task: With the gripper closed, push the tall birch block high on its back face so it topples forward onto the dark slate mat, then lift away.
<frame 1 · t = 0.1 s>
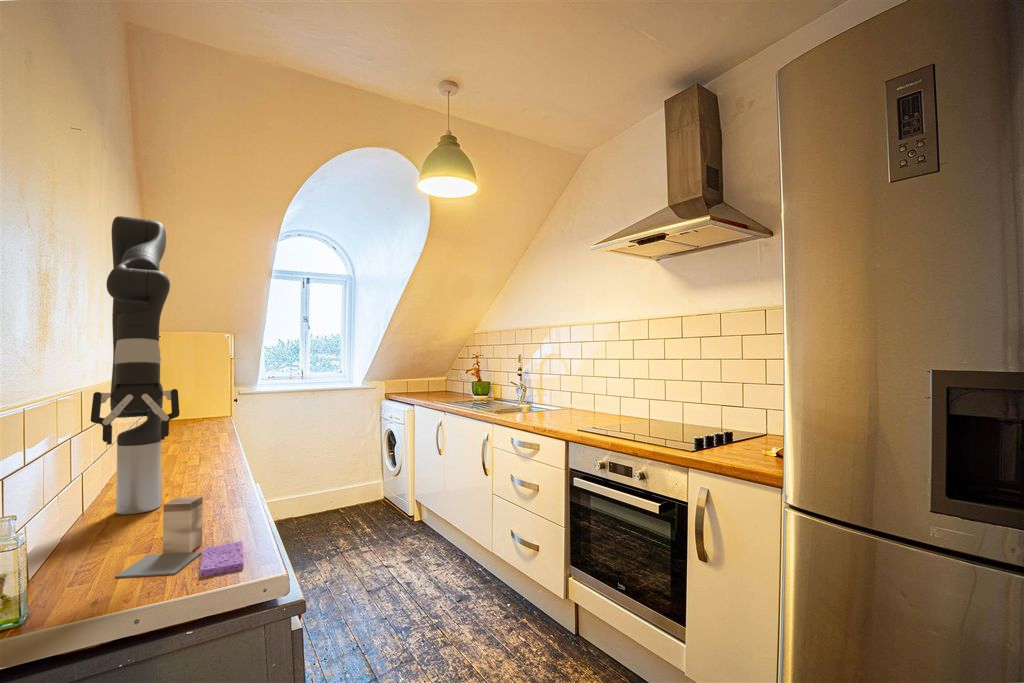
hand: (136, 442, 99), 22 cm above the table, tool pointing down, fingers open, 8 cm apart
sponges: (222, 564, 95), on the table
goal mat: (160, 565, 93), on the table
birch block: (183, 549, 101), on the table
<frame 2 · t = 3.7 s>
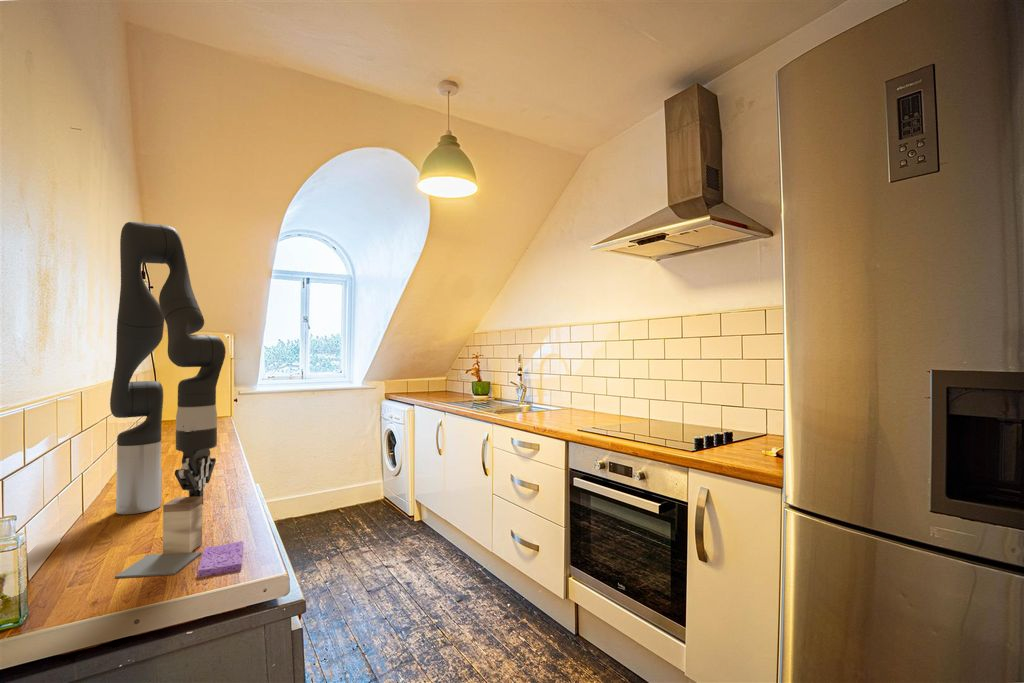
hand: (196, 507, 105), 7 cm above the table, tool pointing down, fingers closed
birch block: (183, 549, 101), on the table, touching gripper
everything else where it was.
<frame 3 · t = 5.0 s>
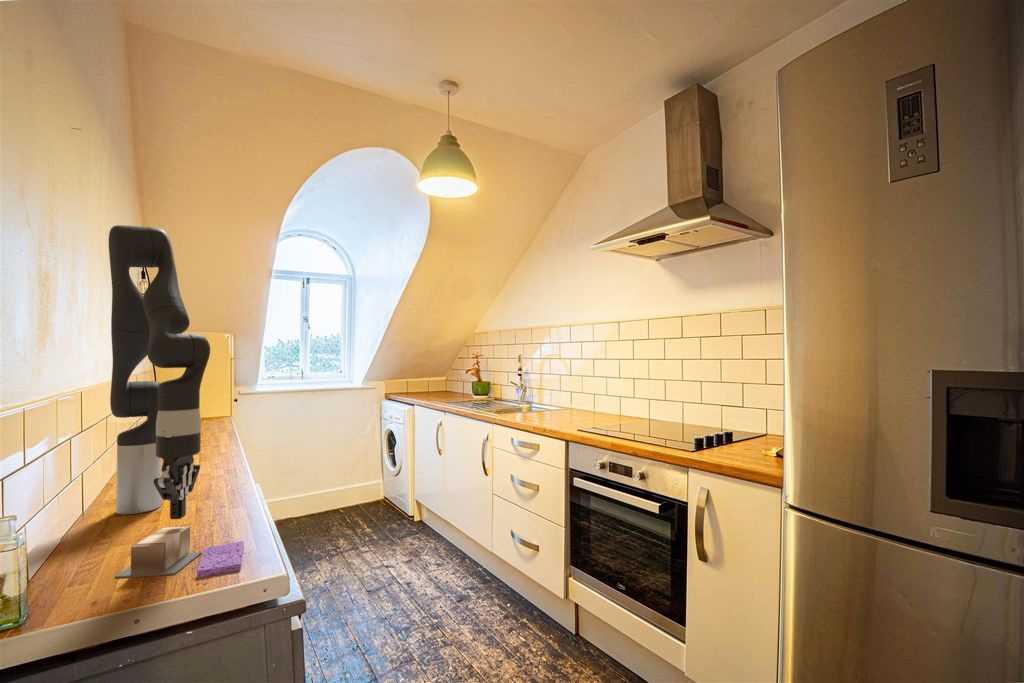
hand: (177, 517, 99), 7 cm above the table, tool pointing down, fingers closed
birch block: (176, 539, 98), point 3 cm above the table, tilted 90°, touching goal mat
everything else where it was.
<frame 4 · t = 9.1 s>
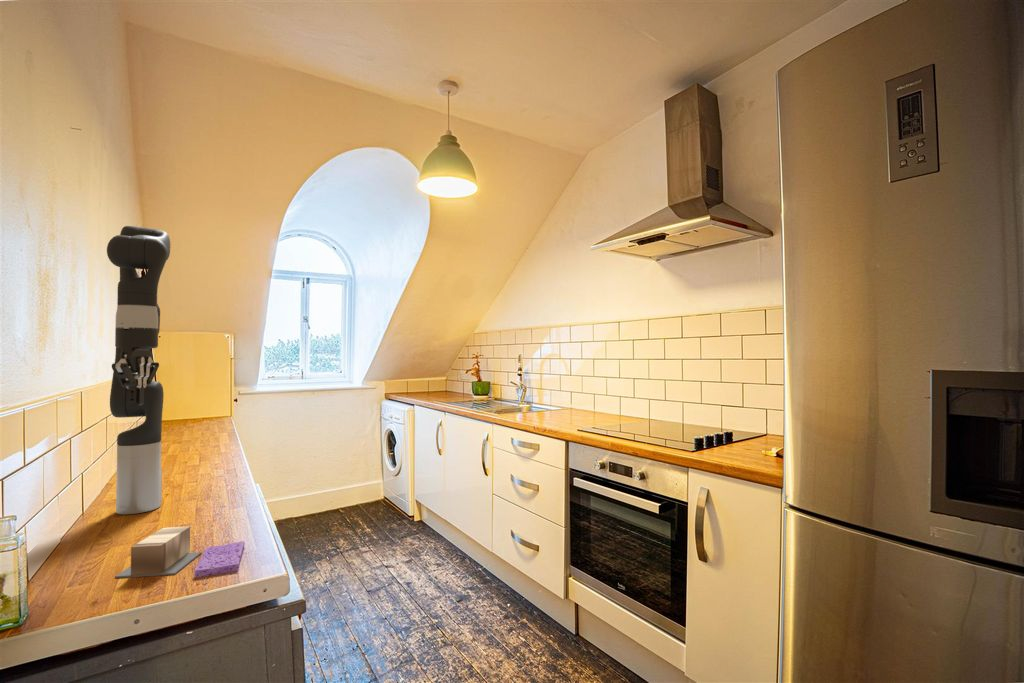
hand: (136, 405, 108), 29 cm above the table, tool pointing down, fingers closed
nothing on the table moved.
at the end: birch block tilted 90°; birch block inside the target area (1.1 cm from its centre), point 2.8 cm above the table; birch block touching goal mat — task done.
